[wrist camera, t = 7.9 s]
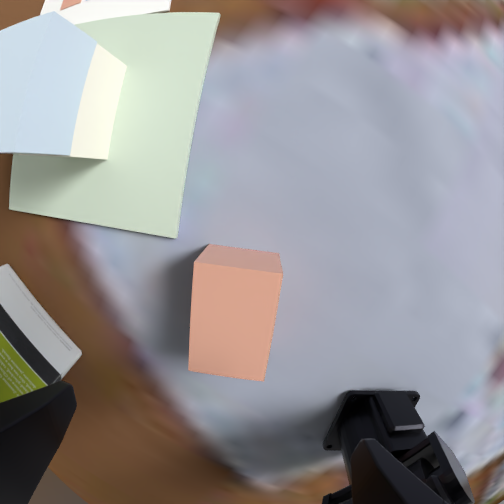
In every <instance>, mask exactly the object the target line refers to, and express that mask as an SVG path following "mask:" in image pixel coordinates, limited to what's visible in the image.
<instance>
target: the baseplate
mask: <svg viewBox="0 0 504 504" xmlns="http://www.w3.org/2000/svg"><path fill="white" fill-rule="evenodd" d="M219 20H220V13H206V12H175V13H154V14H141V15H131V16H122V17H115V18H108V19H102V20H96V21H90V22H85V23H80V24H75V26H76V27H78V28H79V29H81V30H82V31H83V32H85V33H86V34H88V35H89V36H90V37H92V38H93V39H94V40H96V41H97V44H99V45H100V46H101V47H103V48H104V49H105V50H107V51H108V52H109V53H111V54H112V55H113V56H115V57H116V58H117V59H119V60H120V61H121V62H123V63H124V64H125V65H126V66H127V69H126V72H125V76H124V80H123V84H122V88H121V92H120V96H119V101H118V105H117V110H116V114H115V119H114V124H113V130H112V135H111V141H110V147H109V153H108V160H105V159H91V158H74V157H53V156H30V155H19V154H13V162H12V171H11V182H10V198H9V209H10V210H16V211H22V212H27V213H33V214H39V215H44V216H50V217H56V218H61V219H67V220H73V221H79V222H84V223H90V224H96V225H101V226H107V227H113V228H118V229H124V230H130V231H135V232H141V233H147V234H153V235H158V236H164V237H170V238H175V239H176V238H177V237H178V230H179V222H180V215H181V207H182V200H183V193H184V187H185V180H186V174H187V167H188V161H189V155H190V150H191V144H192V139H193V133H194V128H195V123H196V117H197V112H198V107H199V103H200V98H201V93H202V89H203V84H204V80H205V75H206V71H207V67H208V62H209V58H210V54H211V50H212V46H213V42H214V38H215V34H216V31H217V27H218V23H219Z"/></svg>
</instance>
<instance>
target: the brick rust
mask: <svg viewBox="0 0 504 504" xmlns="http://www.w3.org/2000/svg"><path fill="white" fill-rule="evenodd" d="M282 278H283V271H282V266H281V261H280V256H279V253H273V252H265V251H258V250H250V249H242V248H235V247H227V246H219V245H212V244H209V245H208V246H207V247H206V248H205V249H204V251H203V252H202V253H201V254H200V255H199V257H198V258H197V259H196V260H195V261H194V270H193V284H192V299H191V317H190V339H189V368H188V370H189V371H194V372H200V373H206V374H212V375H219V376H225V377H233V378H240V379H248V380H256V381H264V378H265V373H266V368H267V363H268V357H269V352H270V347H271V341H272V336H273V330H274V325H275V319H276V313H277V307H278V302H279V296H280V290H281V284H282Z"/></svg>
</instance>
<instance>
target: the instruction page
mask: <svg viewBox="0 0 504 504" xmlns="http://www.w3.org/2000/svg"><path fill="white" fill-rule="evenodd" d="M170 5H171V0H45V2H44V5H43V8H42V11H41V14H40V15H43V14H46V13H49V12H53V11H55V12H56V13H58V14H59V15H61V16H62V17H64V18H65V19H66V20H68V21H69V22H71V23H72V24H74V25H75V24H80V23H85V22H90V21H96V20H102V19H108V18H115V17H122V16H131V15H141V14H154V13H161V12H168V11H170Z"/></svg>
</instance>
